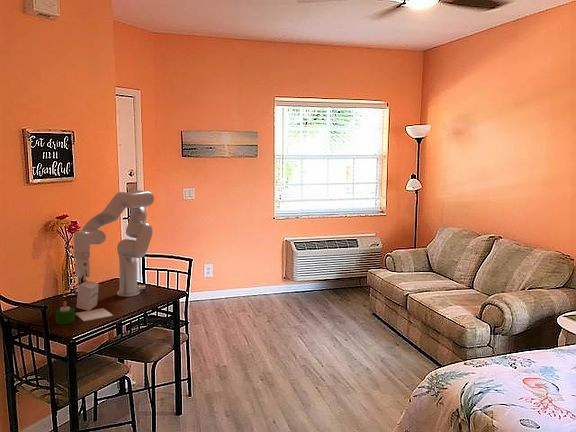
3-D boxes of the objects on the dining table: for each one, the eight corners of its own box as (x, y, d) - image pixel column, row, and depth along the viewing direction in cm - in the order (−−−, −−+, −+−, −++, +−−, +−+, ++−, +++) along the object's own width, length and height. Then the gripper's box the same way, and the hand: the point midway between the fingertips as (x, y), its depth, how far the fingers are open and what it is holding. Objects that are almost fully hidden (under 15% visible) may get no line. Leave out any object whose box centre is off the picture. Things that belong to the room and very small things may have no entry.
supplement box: (89, 311, 252) (90, 288, 249) (75, 307, 253) (77, 285, 250) (97, 305, 259) (99, 283, 256) (84, 301, 260) (86, 279, 257)
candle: (52, 321, 237) (51, 301, 236) (67, 317, 244) (67, 297, 243) (63, 325, 233) (62, 304, 232) (78, 320, 240) (78, 300, 239)
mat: (103, 309, 258) (103, 308, 258) (112, 316, 248) (112, 314, 248) (75, 314, 249) (75, 313, 249) (83, 321, 239) (83, 320, 239)
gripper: (93, 257, 253) (93, 292, 255) (84, 252, 264) (85, 285, 266) (78, 258, 248) (78, 294, 250) (70, 253, 260) (70, 287, 262)
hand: (81, 289), depth 258 cm, fingers closed
